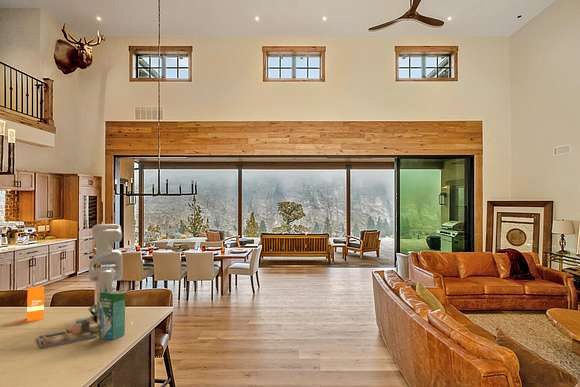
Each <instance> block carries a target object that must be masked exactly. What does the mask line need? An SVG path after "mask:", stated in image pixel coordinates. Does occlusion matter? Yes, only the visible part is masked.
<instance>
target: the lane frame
mask: <svg viewBox="0 0 580 387" xmlns="http://www.w3.org/2000/svg"><path fill="white" fill-rule="evenodd" d="M89 332H90V336H88V337H83V338H78V339H73V340H68V341H62V342H57V343H52V344H47V345H43V335H45V336H46V338H47V337H53V336H58V335H63V334H65V330H64V331H58V332H53V333H49V334H42V335H38V336H36V339H37V342H38V345H39V348H40V349H41V350H42V349H45V348H46V349H47V348H51V347H56V346H60V345H66V344H70V343H74V342H76V343H77V342H80V341H85V340H90V339H96V338H97V337H98V336H97V334H94V332H93V331H89ZM91 334H93V335H91ZM41 339H42V340H41Z"/></svg>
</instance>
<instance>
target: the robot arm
mask: <svg viewBox="0 0 580 387" xmlns="http://www.w3.org/2000/svg"><path fill="white" fill-rule="evenodd" d="M91 228H92V229H91V233H92V234H91V235H92V238H93V240H94V242H95V250H96V251H95V254H94V256H92V258H91V259H90V261H89V263H88V279H89V281H91V282H93V283H94V305H92V306H90V307H89V308H88V311H89V313H90V314H91V318H93V322H94V324H98V319H100V292H106V293H111V292H112V291H116V290H115V289H116V288H115V287H113V281H121V280H122V279H123V276H124V262H123V260H124V259H123V253H122V251H121V250H118V249H113V243H120V242H121V241H122V239H123V231H122V227H121V225H120V223H99V224H95V225H93V226H91ZM95 264H97V265H99V266H100V267H97V268H95ZM107 265H108V266H107ZM109 265H110V266H109ZM111 265H112V266H111ZM113 265H114V266H113ZM93 310H94V311H93Z"/></svg>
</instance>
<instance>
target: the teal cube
mask: <svg viewBox="0 0 580 387" xmlns="http://www.w3.org/2000/svg"><path fill="white" fill-rule="evenodd" d="M84 321H89V320H88V318H87V317H82V318H80V317H79V318H76V319H75V324H77V323H80V324H81V329H82V322H84Z"/></svg>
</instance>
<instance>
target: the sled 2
mask: <svg viewBox="0 0 580 387" xmlns="http://www.w3.org/2000/svg"><path fill="white" fill-rule="evenodd" d="M64 328H65V329H64V331H65V334H69V333H72V327H70V328H69V326H68V325H66V326H65V327H64ZM99 328H100V322H97V323H92V324H89V331H93V333H96V332H99ZM81 331H82V329H81Z"/></svg>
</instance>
